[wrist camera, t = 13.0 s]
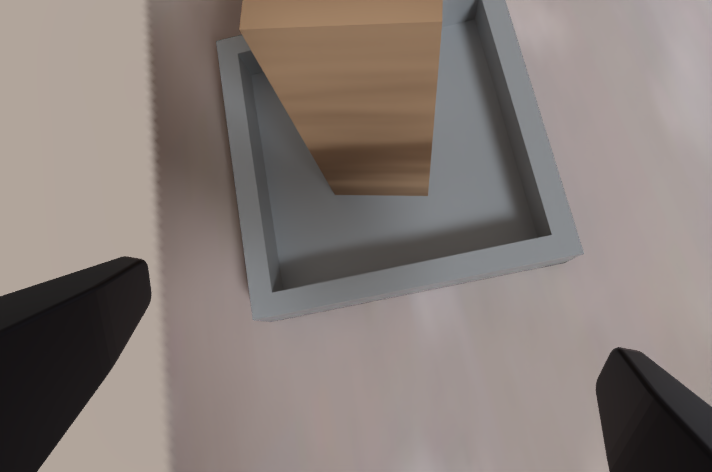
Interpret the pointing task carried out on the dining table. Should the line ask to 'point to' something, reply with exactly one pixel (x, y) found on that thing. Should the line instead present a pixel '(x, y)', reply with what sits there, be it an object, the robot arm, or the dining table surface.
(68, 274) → the robot arm
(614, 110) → the dining table surface
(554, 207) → the grey tray
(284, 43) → the walnut block
